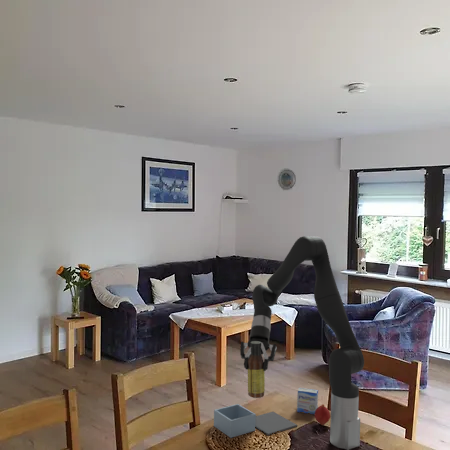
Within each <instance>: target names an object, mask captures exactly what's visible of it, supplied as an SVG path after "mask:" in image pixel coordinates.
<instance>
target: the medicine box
mask: <svg viewBox="0 0 450 450" xmlns="http://www.w3.org/2000/svg"><path fill="white" fill-rule="evenodd" d="M296 396H297V397H296V398H297V400H296V401H297V402H296V412H297V413H300V412H304V413H303V414H308V413H310V414H309V415H315V411H316V409H317V408H318V407H319V405H318V403H319V390H318V389H311V388H305V387H298V389H297V395H296Z"/></svg>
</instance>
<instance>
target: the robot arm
mask: <svg viewBox="0 0 450 450" xmlns="http://www.w3.org/2000/svg"><path fill="white" fill-rule="evenodd" d="M328 253H329V252H328V248H327V245H326V243H325V241H324V239H323V238H322V237H320V236H318V235H317V236H316V235H312V236H311V235H305V236H304V235H303V236H301V237H300V236H299V238H297V239H296V241H295V242H294V243H293V244H292V247H291V248H290V250H289V252H288V254H287V255H286V256H285V258H284V259H283V261H282V263H281V265H280V266H279V267H278V268H277V270H275V271H274V272H273V274H272V275H270V277H269V278H268V279H267V282H266V285H267V286H265V285H263V284H257V285H256V286H255V287H254V288H253V291H252V294H251V295H252V297H251V298H252V303H253V319H252V322H251V327H250V334H249V340H248V341H247V342H244V341H241V342H240V358H241V359H243V367H244V369H245V370H246V371H248V359H249V358H250V355H251V346H250V342H252V341H259V342H261V355H262V357H263V362H264V366H263V371H264V372H266V371H267V370H268V368H269V362H274V361H275V357H276V353H277V349H278V348H277V345H276V343H273V344H270V336H271V335H270V334H271V328H272V325H271V321H272V313H273V312H272V308H271V307H272V306H274V305H276V304H277V302H278V299H279V297H280V296H281V293H282V291H283V290H284V289H285V288H286V287H287V286H288V285H289V284H290V282H291V281H292V279H293V277H294V272H295V270H296V269H297V267H298V266H300V265H301V264H302V263H304V262H308V261H309V262H311V263H312V266H313V269H314V272H315V284H314V289H313V290H314V291H313V297H314V302H315V305H316V308H317V312H318V313H319V314H318V315H320V317H321V319H322V320H323V321H324V323H325V324H326V325H327V326H328V327H329V328H330V329H331V331H332V332H333V333H334V335H335V337H336V339H337V342H338V344H339V345H338V346H339V348H336V349H333V350H332V351H331V353H330V354H329V359H328V360H329V361H328V375H329V376H328V379H329V380H328V381H329V386H330V389H331V391H330V395H331V396H330V420H329V421H330V422H329V425H330V428H329V441H330V442H329V443H331V445H333V446H334V447H335V448H338V449H344V450H352V449H355V448H358V447H360V446H361V445H360V443H361V418H360V417H359V396H360V395H359V394H360V389H359V386H358V385H357V384H355V383H353V382H352V375H353V374H354V375H355V374H357V373H359V372H361V371H362V370H363V369H364V366H365V358H364V354H363V352H362V349H361V347H360V345H359V342H358V340H357V338H356V335H355V333H354V331H353V329H352V326H351V323H350V320H349V318H348V314H347V312H346V309H345V305H344V303H343V299H342V297H341V296H342V295H340V294H341V293H340V291H339V288H338V286H337V282H336V278H335V276H334V273H333V269H332V265H331V261H330V257H329V256H330V255H329V254H328ZM247 347H248V350H247V352H246V353H245V350H246V349H247ZM269 349H270V355H268V353H267V351H268V350H269Z"/></svg>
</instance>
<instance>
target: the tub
mask: <svg viewBox="0 0 450 450" xmlns="http://www.w3.org/2000/svg"><path fill="white" fill-rule="evenodd" d="M256 416H257V415H256V413H255V412H253V411H251V410H249V409H248V408H246V407H244V406H243V405H241V404H239V403H237V404H236V403H235V404H231V405H229V406H224V407H220V408H216V409H213V427H214V428H216V429H217V430H219V431H220V432H222V433H223V434H224V435H226V436H227V437H229V438H230V439H232V438H235V437H238V436H241V435H246V434H248V433H251V432H254V431H256V428H255V426H256Z"/></svg>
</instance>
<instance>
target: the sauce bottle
mask: <svg viewBox="0 0 450 450" xmlns="http://www.w3.org/2000/svg"><path fill="white" fill-rule="evenodd" d="M250 346H251V355H250V358H249V359H248V370H247V395H248V397H251V398H254V399H260V398H263V397H264V396H265V391H266V390H265V389H266V388H265V386H266V385H265V382H266V380H265V378H266V377H265V375H266V374H265V373H266V371H263V366H264V357H263V354H262V355H261V342H259V341H252V342H250Z"/></svg>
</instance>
